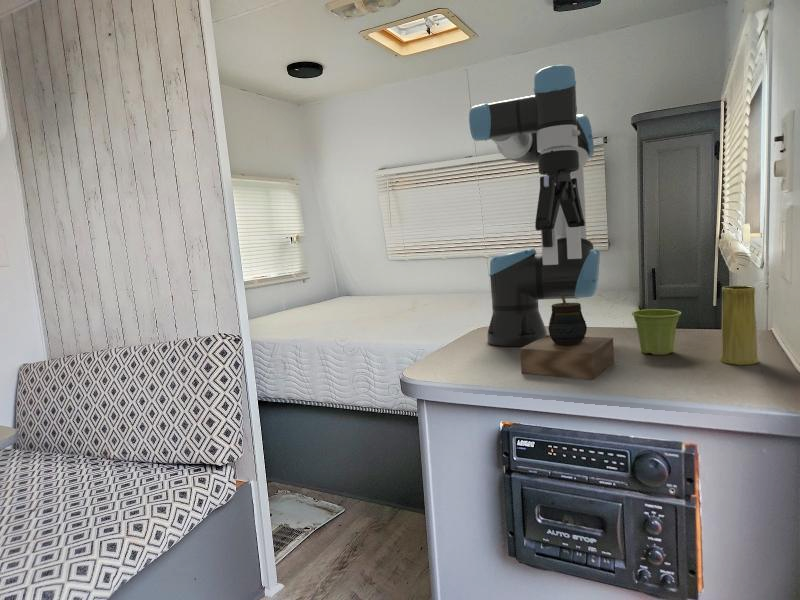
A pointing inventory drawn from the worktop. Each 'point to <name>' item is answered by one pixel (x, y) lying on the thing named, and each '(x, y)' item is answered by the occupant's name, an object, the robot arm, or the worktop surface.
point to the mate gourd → (567, 323)
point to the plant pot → (656, 330)
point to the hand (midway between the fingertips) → (563, 261)
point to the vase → (738, 326)
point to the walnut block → (567, 357)
